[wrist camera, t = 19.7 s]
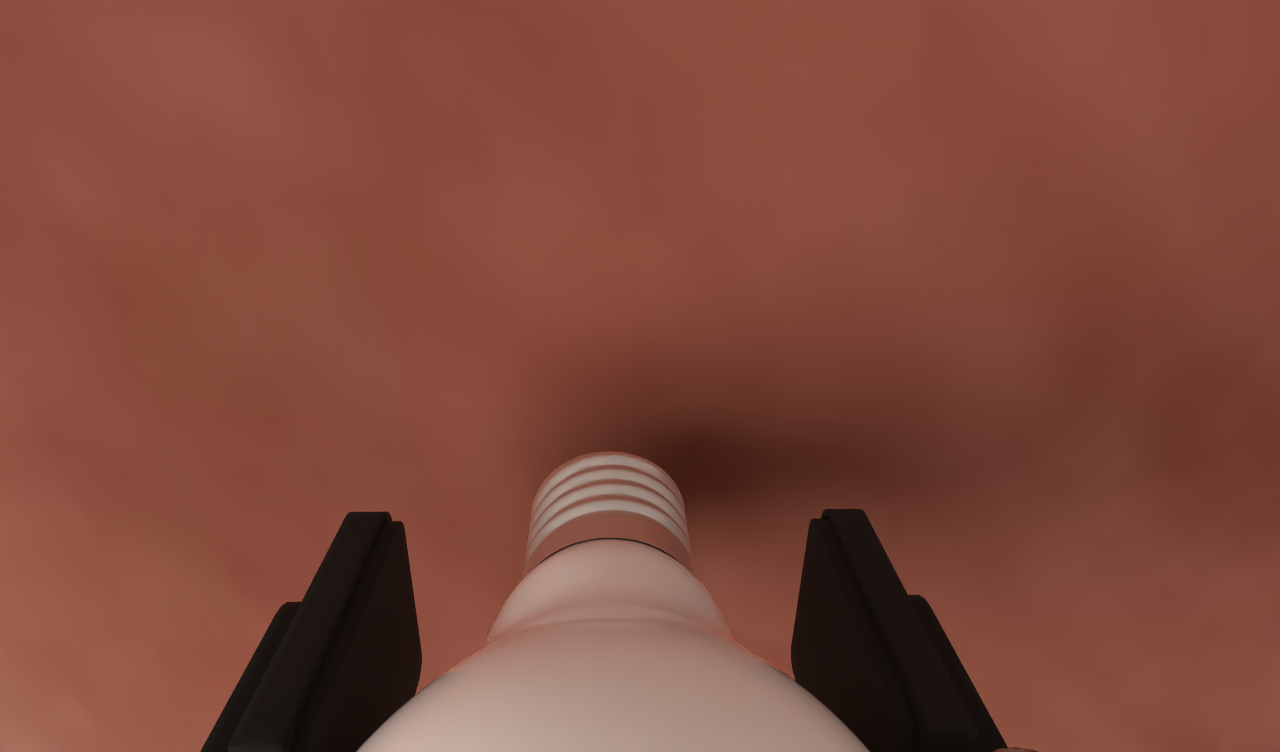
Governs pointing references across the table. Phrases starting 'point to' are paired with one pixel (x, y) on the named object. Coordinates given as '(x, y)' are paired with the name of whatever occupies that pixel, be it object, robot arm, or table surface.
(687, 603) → the lightbulb
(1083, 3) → the table surface
